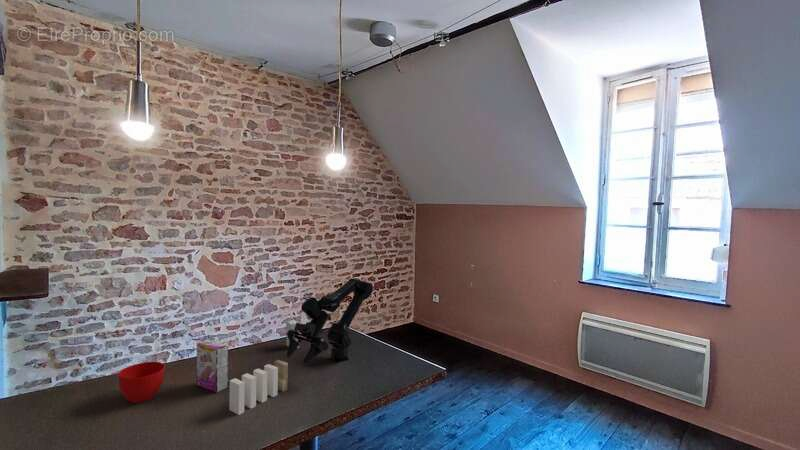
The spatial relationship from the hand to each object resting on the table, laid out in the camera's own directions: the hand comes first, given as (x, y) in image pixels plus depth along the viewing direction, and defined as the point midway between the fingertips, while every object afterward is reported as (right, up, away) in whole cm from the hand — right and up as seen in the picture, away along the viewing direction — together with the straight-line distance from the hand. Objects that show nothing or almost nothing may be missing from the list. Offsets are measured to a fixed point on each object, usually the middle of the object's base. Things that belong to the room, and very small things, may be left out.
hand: (295, 360), depth 142 cm
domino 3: (-9, -9, -13) cm, 18 cm away
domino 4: (-6, -9, -9) cm, 14 cm away
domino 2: (-11, -9, -17) cm, 22 cm away
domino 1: (-13, -9, -21) cm, 26 cm away
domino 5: (-4, -9, -6) cm, 11 cm away
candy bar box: (-29, -8, -6) cm, 31 cm away
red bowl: (-50, -8, -14) cm, 52 cm away
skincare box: (-11, -6, +34) cm, 36 cm away
